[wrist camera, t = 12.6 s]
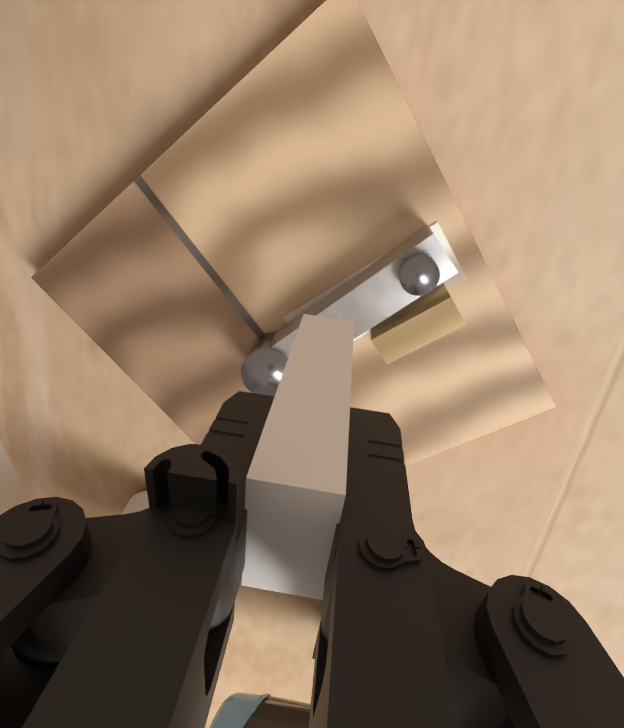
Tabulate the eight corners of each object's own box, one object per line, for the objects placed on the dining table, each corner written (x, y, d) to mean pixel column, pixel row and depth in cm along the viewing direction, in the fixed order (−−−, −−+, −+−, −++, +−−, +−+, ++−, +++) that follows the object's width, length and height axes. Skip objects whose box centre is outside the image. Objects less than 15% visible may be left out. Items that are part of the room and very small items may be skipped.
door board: (548, 395, 34) (572, 430, 30) (272, 507, 45) (263, 543, 41) (348, -10, 22) (344, -42, 18) (44, 271, 33) (1, 289, 29)
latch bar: (273, 382, 34) (263, 409, 31) (242, 349, 33) (228, 373, 30) (453, 265, 28) (465, 283, 24) (423, 218, 26) (431, 229, 23)
